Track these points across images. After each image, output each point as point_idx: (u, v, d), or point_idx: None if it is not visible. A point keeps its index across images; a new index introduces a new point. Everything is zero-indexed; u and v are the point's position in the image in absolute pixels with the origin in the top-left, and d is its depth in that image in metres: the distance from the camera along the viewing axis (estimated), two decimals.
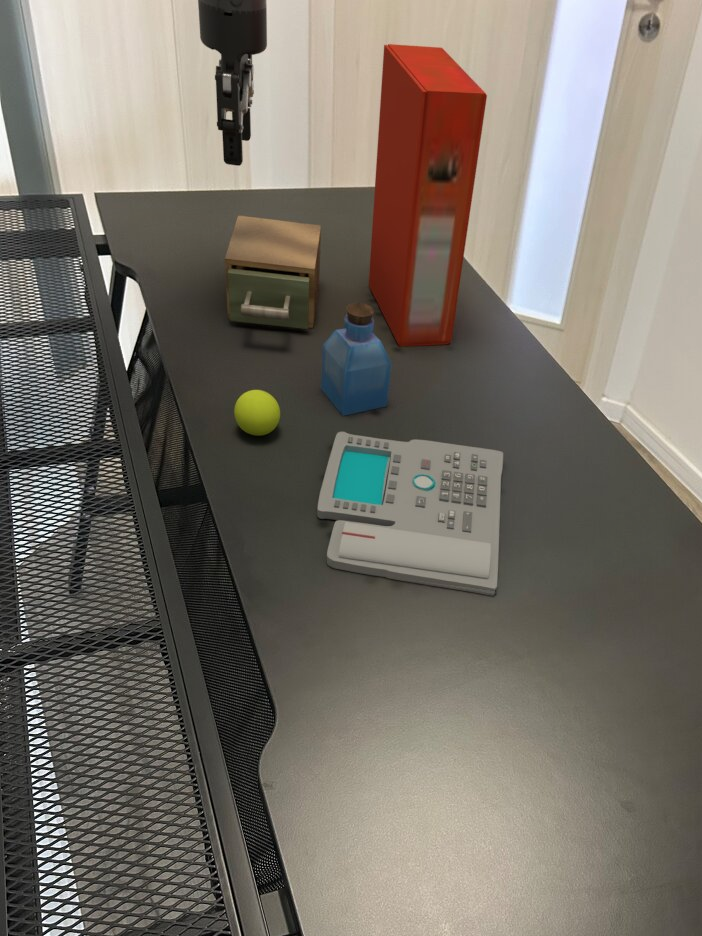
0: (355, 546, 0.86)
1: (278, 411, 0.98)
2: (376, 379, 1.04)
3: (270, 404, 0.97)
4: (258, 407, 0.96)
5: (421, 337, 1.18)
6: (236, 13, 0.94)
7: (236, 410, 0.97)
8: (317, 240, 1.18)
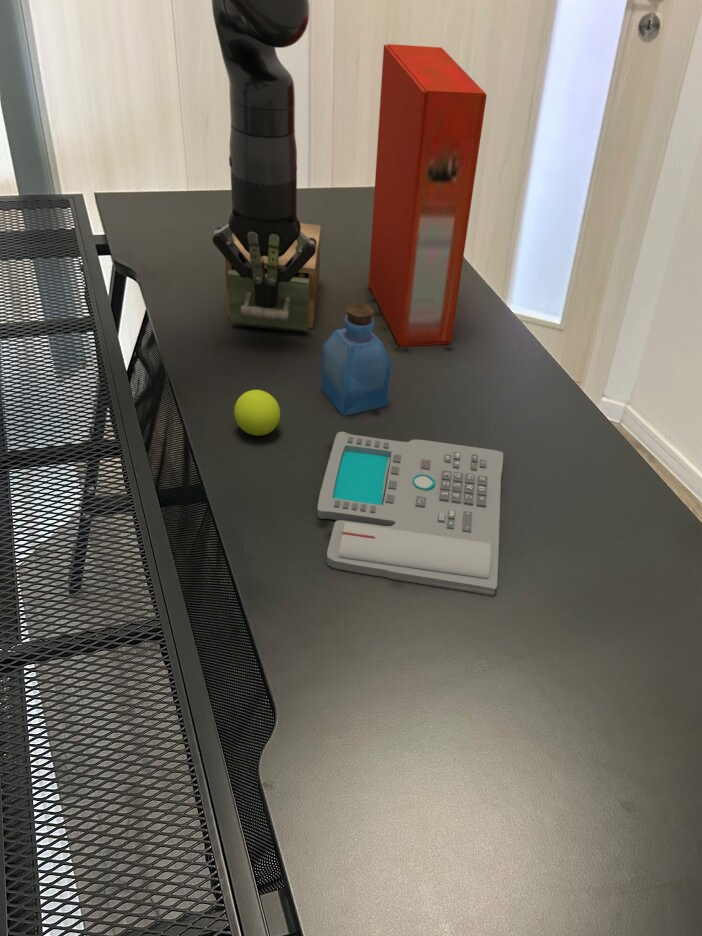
0: (355, 546, 0.86)
1: (278, 411, 0.98)
2: (377, 379, 1.04)
3: (270, 404, 0.97)
4: (258, 407, 0.96)
5: (421, 337, 1.18)
6: None
7: (236, 410, 0.97)
8: (317, 240, 1.18)
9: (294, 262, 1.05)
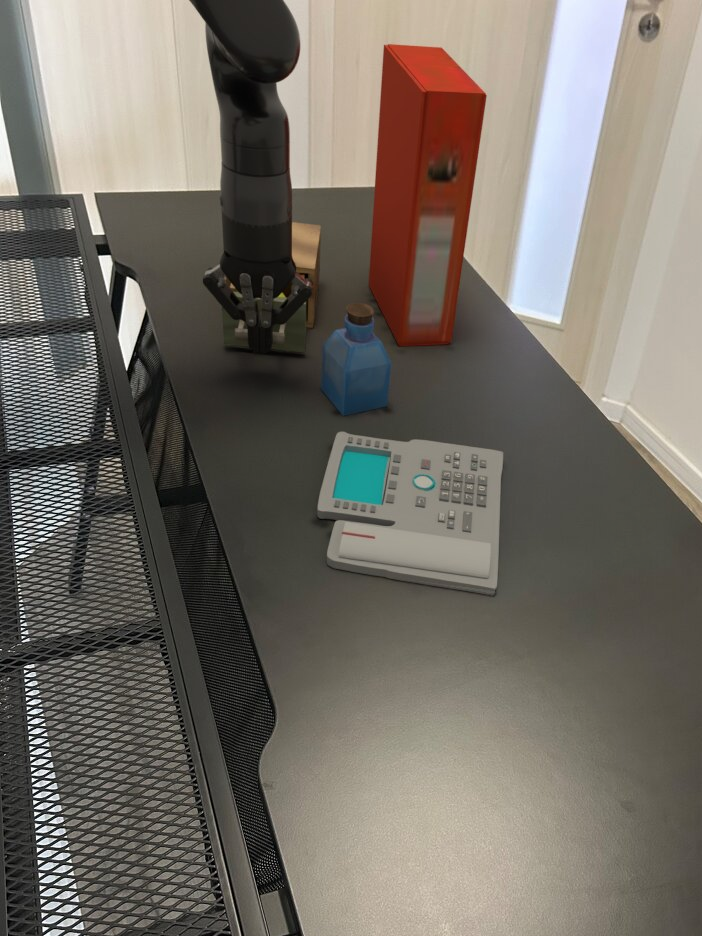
0: (355, 546, 0.86)
1: None
2: (377, 379, 1.04)
3: None
4: None
5: (421, 337, 1.18)
6: None
7: None
8: (317, 240, 1.18)
9: (289, 304, 0.99)
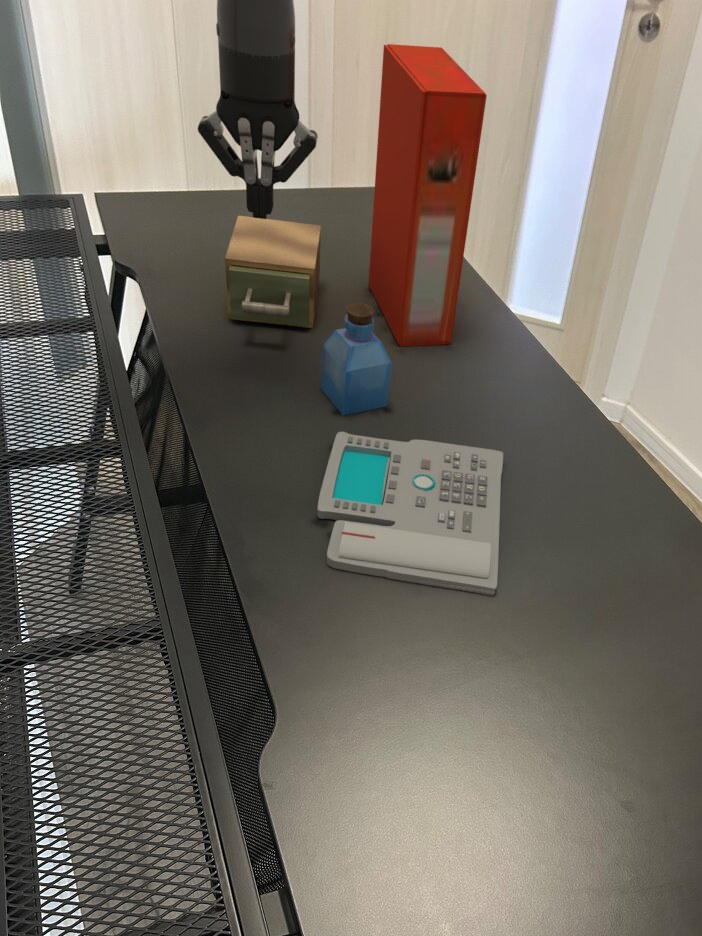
0: (355, 546, 0.86)
1: None
2: (377, 379, 1.04)
3: None
4: None
5: (421, 337, 1.18)
6: (218, 44, 0.84)
7: None
8: (317, 240, 1.18)
9: (292, 158, 0.92)
